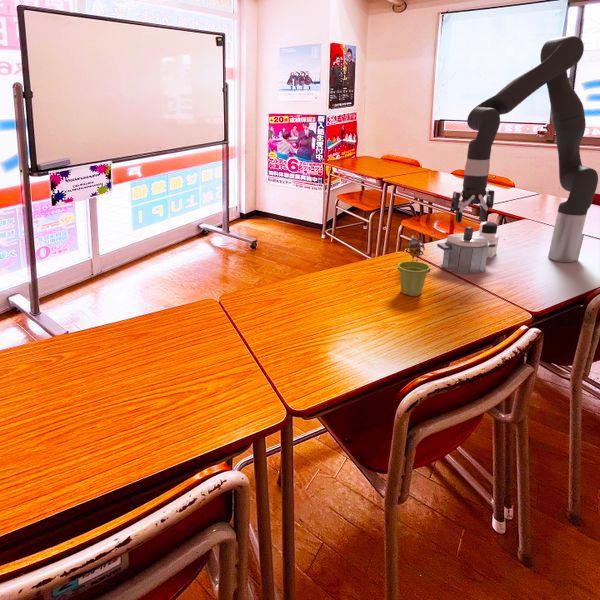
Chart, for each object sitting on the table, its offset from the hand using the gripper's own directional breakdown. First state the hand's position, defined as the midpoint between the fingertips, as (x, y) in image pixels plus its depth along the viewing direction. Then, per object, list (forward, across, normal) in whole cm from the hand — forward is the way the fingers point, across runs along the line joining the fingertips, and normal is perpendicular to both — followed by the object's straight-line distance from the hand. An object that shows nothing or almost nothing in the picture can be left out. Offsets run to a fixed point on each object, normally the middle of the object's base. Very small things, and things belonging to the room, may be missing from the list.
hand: (470, 221), depth 171 cm
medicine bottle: (+16, -15, -11) cm, 25 cm away
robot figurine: (+16, +18, -1) cm, 24 cm away
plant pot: (+16, +28, +18) cm, 37 cm away
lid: (+7, 0, 0) cm, 7 cm away
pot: (+16, 0, 0) cm, 16 cm away
